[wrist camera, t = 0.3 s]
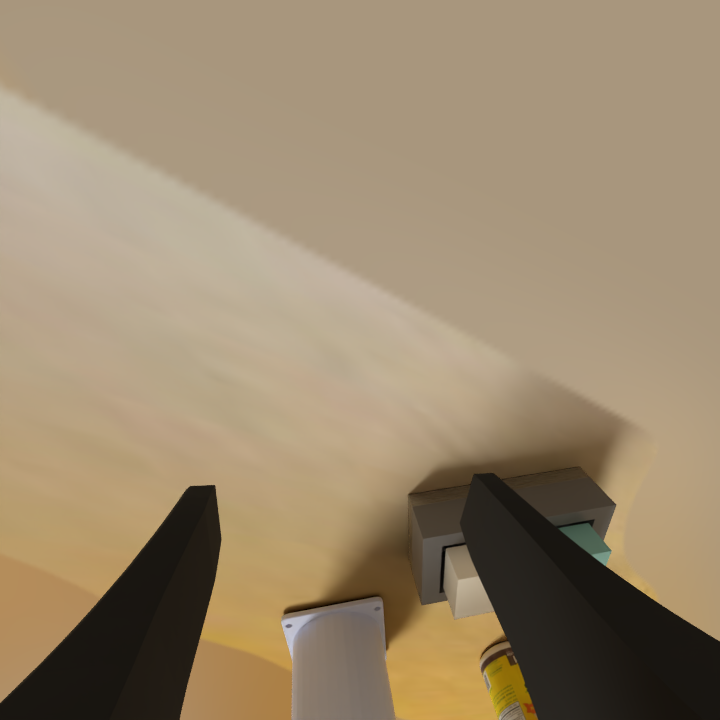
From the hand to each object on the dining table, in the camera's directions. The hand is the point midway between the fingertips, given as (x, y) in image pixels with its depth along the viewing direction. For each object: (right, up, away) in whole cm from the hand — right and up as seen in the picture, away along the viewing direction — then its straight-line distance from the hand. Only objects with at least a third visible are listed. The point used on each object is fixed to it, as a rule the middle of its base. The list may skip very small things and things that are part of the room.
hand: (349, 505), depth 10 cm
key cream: (+8, -9, +13) cm, 18 cm away
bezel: (+10, -7, +17) cm, 21 cm away
